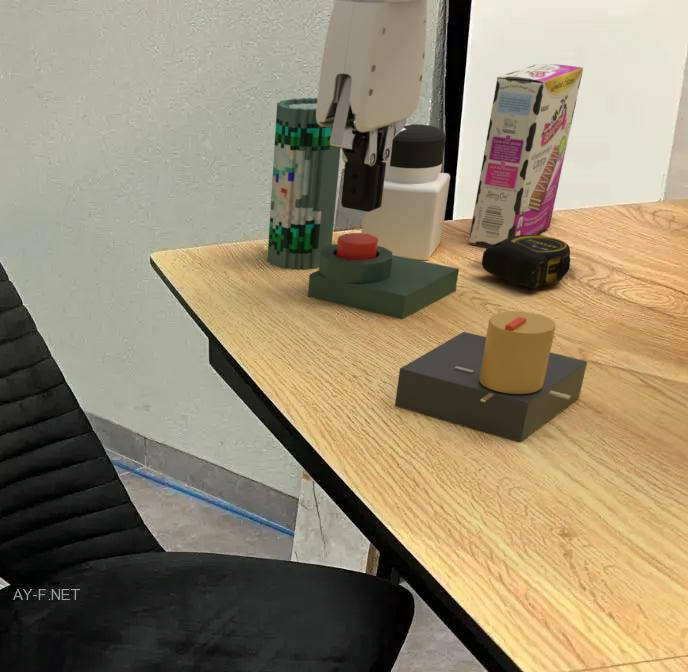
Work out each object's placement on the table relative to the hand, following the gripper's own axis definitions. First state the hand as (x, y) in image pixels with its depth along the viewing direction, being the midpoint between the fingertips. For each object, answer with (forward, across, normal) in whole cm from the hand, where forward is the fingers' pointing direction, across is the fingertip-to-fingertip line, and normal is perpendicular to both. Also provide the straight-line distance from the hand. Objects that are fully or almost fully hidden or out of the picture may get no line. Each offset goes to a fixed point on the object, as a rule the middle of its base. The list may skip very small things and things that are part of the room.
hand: (360, 207), depth 103 cm
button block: (+8, -2, +2) cm, 9 cm away
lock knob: (+5, +17, +24) cm, 30 cm away
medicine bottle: (+8, -16, -4) cm, 18 cm away
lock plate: (+8, +16, +22) cm, 28 cm away
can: (+8, -6, -10) cm, 14 cm away
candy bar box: (+8, -27, +3) cm, 28 cm away
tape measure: (+8, -13, +11) cm, 19 cm away
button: (+5, 0, 0) cm, 5 cm away
